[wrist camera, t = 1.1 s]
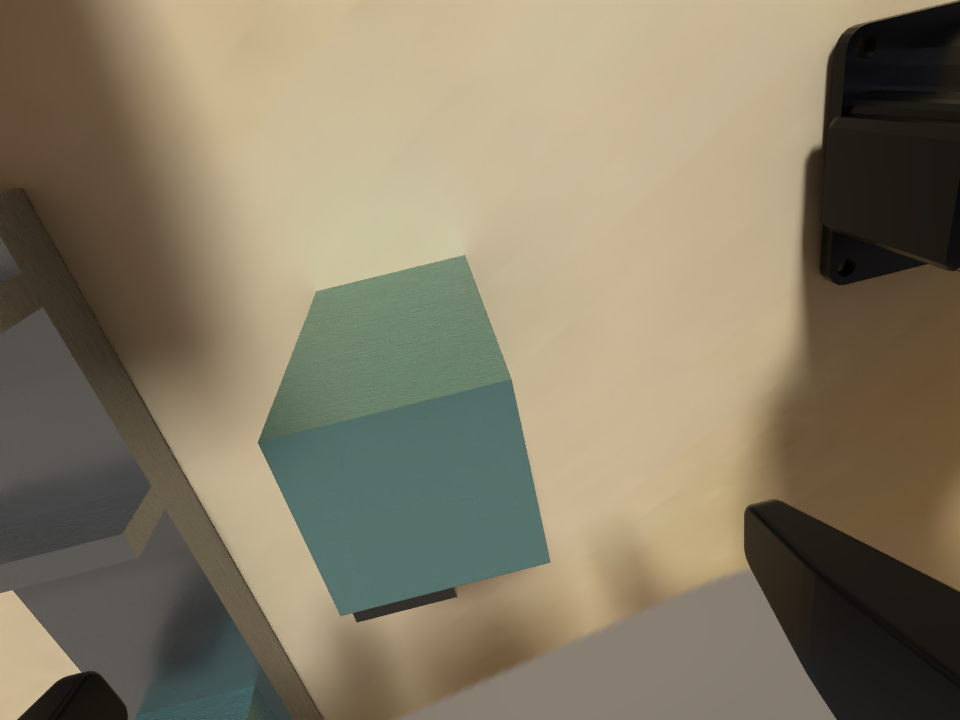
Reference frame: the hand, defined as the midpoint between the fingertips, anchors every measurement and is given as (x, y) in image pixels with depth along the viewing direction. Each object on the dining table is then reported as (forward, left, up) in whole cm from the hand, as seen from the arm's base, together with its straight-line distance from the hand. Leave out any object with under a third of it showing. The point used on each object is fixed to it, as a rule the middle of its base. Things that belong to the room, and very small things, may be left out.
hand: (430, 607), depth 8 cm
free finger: (0, 0, -9) cm, 9 cm away
